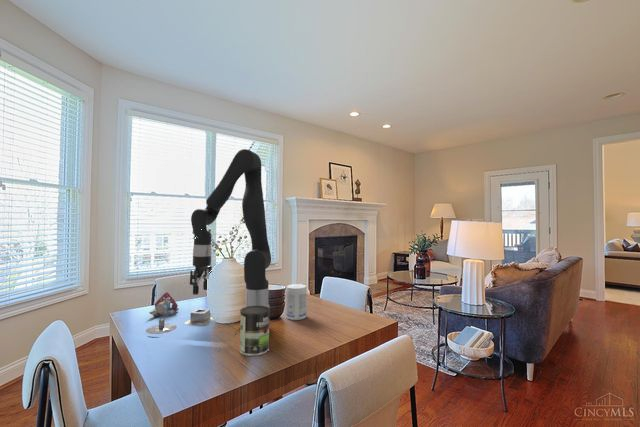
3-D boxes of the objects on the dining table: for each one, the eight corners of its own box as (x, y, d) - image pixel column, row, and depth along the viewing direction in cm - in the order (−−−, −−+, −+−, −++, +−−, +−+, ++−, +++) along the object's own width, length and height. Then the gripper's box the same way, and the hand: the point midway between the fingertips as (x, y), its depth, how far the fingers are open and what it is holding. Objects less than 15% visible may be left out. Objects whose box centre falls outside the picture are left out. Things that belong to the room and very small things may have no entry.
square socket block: (210, 318, 135) (210, 309, 135) (203, 323, 129) (203, 313, 129) (197, 317, 136) (198, 308, 136) (190, 322, 130) (190, 312, 130)
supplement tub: (304, 313, 149) (305, 283, 149) (308, 320, 140) (308, 287, 140) (284, 314, 147) (285, 284, 147) (286, 321, 137) (287, 288, 138)
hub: (182, 328, 127) (182, 316, 127) (165, 338, 116) (165, 325, 116) (157, 326, 128) (158, 314, 128) (139, 336, 117) (139, 323, 117)
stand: (216, 320, 137) (217, 309, 137) (205, 328, 127) (205, 316, 127) (195, 319, 138) (196, 308, 138) (183, 327, 128) (183, 315, 128)
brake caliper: (185, 307, 148) (177, 291, 141) (174, 327, 140) (165, 311, 133) (163, 306, 150) (154, 290, 143) (151, 325, 141) (141, 309, 134)
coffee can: (275, 348, 109) (276, 308, 109) (254, 359, 100) (255, 315, 101) (254, 341, 115) (254, 303, 115) (233, 351, 106) (233, 310, 106)
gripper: (201, 257, 125) (200, 296, 125) (217, 253, 140) (216, 288, 139) (184, 256, 126) (183, 295, 126) (202, 252, 141) (201, 287, 140)
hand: (201, 292), depth 133 cm, fingers open, 8 cm apart
